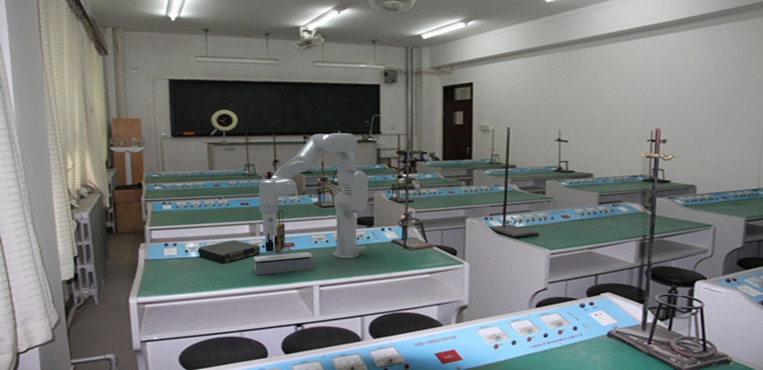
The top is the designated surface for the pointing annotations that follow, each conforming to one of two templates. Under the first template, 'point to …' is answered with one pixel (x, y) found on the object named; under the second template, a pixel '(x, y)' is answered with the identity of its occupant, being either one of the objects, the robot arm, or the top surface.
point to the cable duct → (282, 265)
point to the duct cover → (282, 256)
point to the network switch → (228, 251)
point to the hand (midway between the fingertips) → (269, 251)
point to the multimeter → (280, 236)
